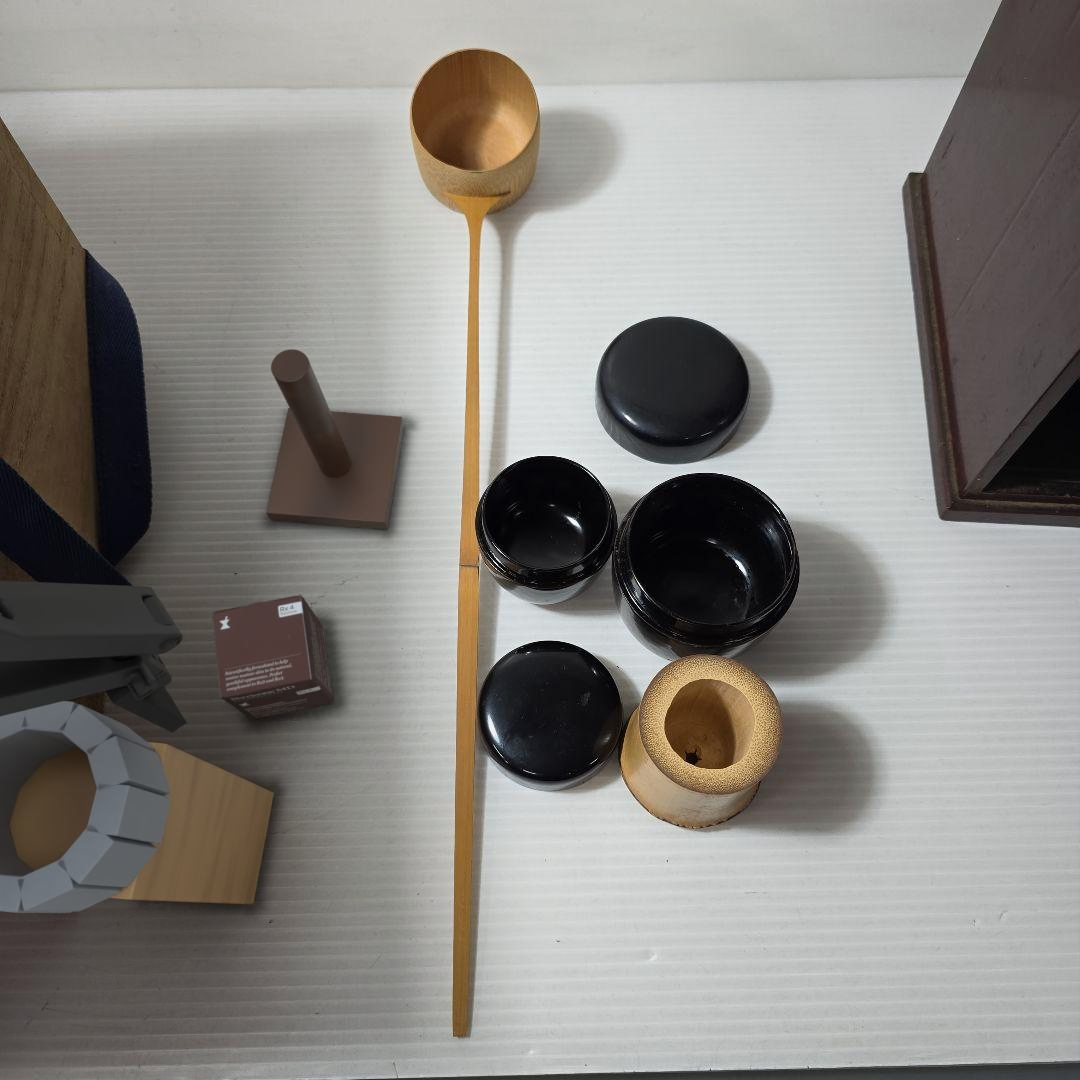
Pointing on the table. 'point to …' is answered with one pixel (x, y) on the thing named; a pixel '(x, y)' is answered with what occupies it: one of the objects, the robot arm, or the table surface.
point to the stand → (189, 835)
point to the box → (272, 657)
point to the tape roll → (116, 816)
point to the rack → (331, 456)
